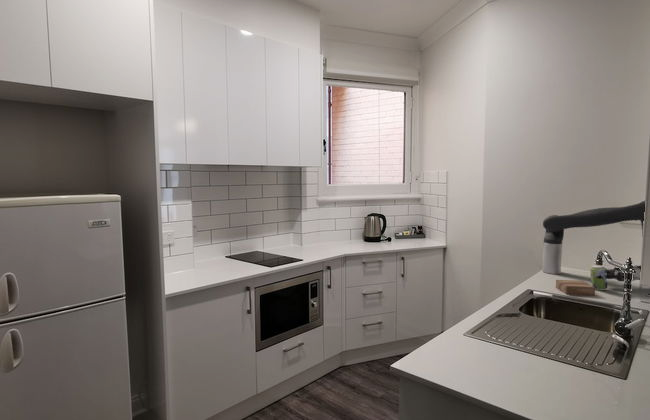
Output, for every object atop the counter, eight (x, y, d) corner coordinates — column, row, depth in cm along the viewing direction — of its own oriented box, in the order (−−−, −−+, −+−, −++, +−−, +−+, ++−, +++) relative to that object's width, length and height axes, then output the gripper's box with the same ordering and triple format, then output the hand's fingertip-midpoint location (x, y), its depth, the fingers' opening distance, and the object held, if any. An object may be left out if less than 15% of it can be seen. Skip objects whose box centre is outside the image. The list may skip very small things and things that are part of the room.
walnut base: (555, 287, 191) (556, 279, 191) (582, 288, 189) (582, 280, 189) (566, 294, 179) (566, 286, 179) (594, 296, 177) (595, 287, 177)
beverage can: (610, 291, 184) (611, 266, 184) (594, 291, 185) (596, 266, 184) (601, 287, 191) (602, 264, 190) (586, 287, 191) (587, 264, 190)
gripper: (614, 262, 197) (587, 263, 194) (641, 269, 183) (612, 270, 180) (613, 277, 197) (586, 278, 194) (640, 284, 183) (611, 286, 180)
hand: (599, 274), depth 187 cm, fingers open, 8 cm apart
